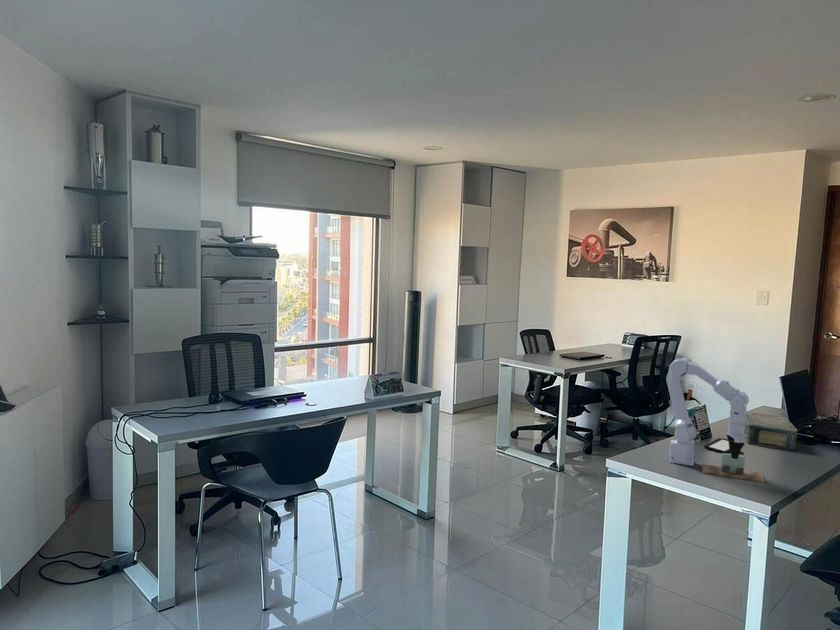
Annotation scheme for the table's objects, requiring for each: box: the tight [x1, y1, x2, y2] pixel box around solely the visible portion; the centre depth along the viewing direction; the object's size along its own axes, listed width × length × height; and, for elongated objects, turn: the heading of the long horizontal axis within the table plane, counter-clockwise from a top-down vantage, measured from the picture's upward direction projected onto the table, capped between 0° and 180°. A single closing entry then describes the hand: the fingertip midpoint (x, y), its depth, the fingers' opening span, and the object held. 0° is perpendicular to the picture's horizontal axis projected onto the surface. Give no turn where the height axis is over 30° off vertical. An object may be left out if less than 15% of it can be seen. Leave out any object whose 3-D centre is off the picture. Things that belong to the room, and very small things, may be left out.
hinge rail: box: [700, 463, 766, 484], centre depth 243 cm, size 22×10×3 cm, turn 67°
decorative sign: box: [703, 437, 745, 456], centre depth 280 cm, size 22×2×15 cm
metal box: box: [744, 412, 798, 451], centre depth 300 cm, size 21×32×10 cm, turn 157°
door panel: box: [720, 453, 746, 473], centre depth 243 cm, size 8×2×7 cm, turn 67°
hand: (733, 455), depth 243 cm, fingers open, 7 cm apart
